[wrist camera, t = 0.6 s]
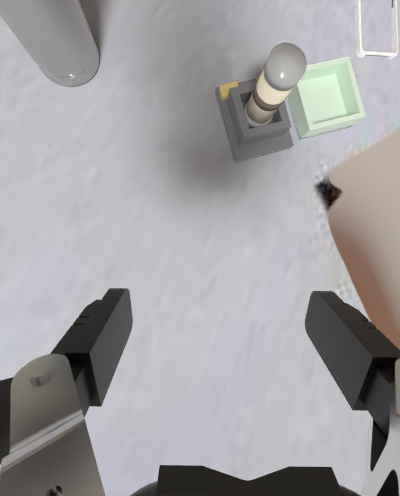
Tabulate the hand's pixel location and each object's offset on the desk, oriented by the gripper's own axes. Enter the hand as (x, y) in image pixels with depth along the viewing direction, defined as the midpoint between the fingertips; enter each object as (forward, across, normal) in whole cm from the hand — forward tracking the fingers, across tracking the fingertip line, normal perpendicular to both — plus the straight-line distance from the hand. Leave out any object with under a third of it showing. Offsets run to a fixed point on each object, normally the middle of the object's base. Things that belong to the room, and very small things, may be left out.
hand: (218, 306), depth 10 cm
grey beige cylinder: (+34, -8, -12) cm, 37 cm away
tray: (+38, -19, -15) cm, 45 cm away
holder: (+35, -8, -12) cm, 38 cm away
